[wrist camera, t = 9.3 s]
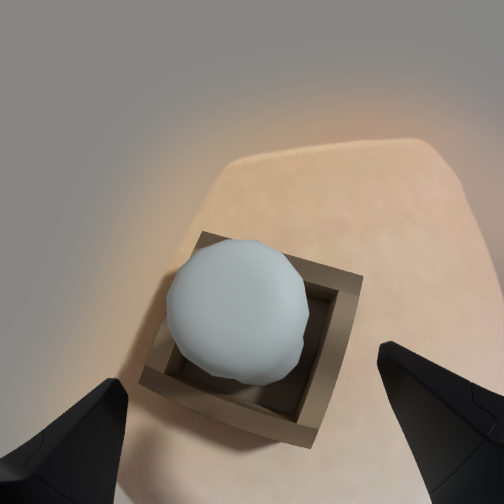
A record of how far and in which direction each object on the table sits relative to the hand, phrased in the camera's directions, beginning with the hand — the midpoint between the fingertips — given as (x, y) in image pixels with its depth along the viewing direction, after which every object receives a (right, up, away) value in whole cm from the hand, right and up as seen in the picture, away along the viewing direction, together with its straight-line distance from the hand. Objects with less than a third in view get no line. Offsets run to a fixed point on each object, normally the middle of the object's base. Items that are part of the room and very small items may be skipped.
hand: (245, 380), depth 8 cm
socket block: (+1, -3, +12) cm, 12 cm away
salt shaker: (+1, -3, +11) cm, 11 cm away
